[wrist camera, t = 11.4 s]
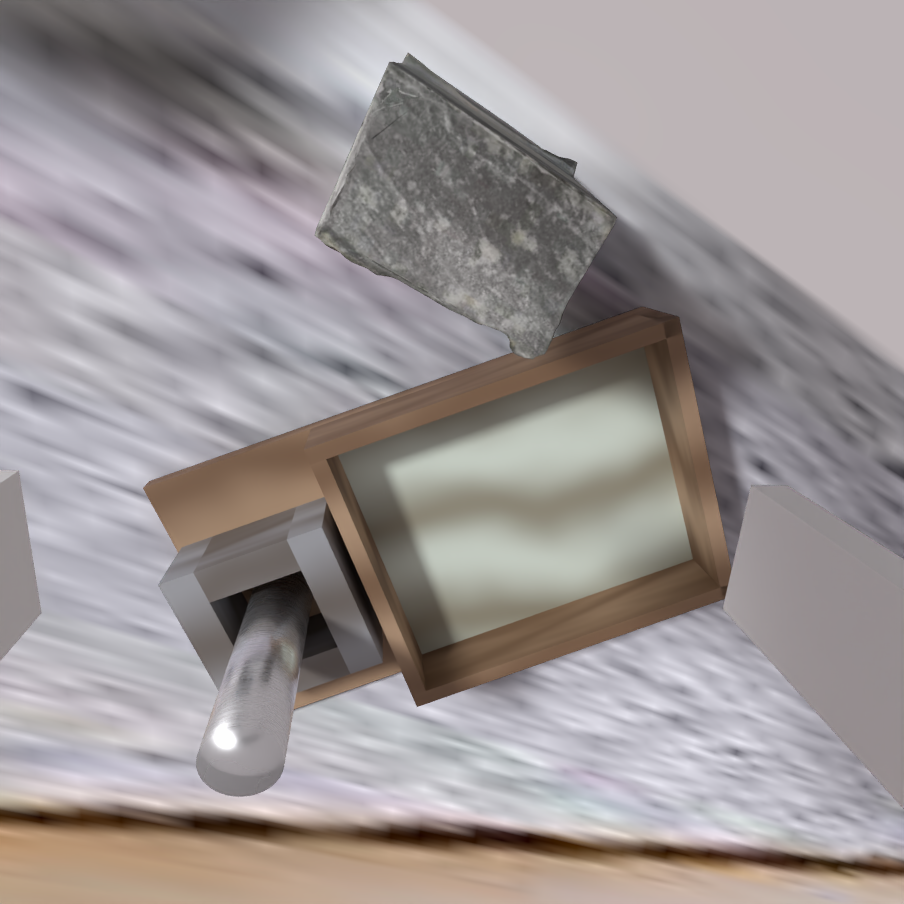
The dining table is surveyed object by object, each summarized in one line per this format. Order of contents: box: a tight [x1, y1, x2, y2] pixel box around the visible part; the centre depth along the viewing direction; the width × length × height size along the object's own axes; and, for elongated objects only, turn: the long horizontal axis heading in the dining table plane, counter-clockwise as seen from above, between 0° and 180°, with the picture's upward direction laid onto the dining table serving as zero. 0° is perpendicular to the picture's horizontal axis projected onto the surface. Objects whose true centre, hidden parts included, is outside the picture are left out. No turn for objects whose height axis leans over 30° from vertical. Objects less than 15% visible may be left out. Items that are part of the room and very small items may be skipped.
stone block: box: [315, 53, 617, 359], centre depth 25 cm, size 9×14×5 cm
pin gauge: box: [196, 571, 313, 796], centre depth 31 cm, size 3×3×13 cm
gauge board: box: [143, 307, 731, 709], centre depth 35 cm, size 16×28×5 cm, turn 109°
